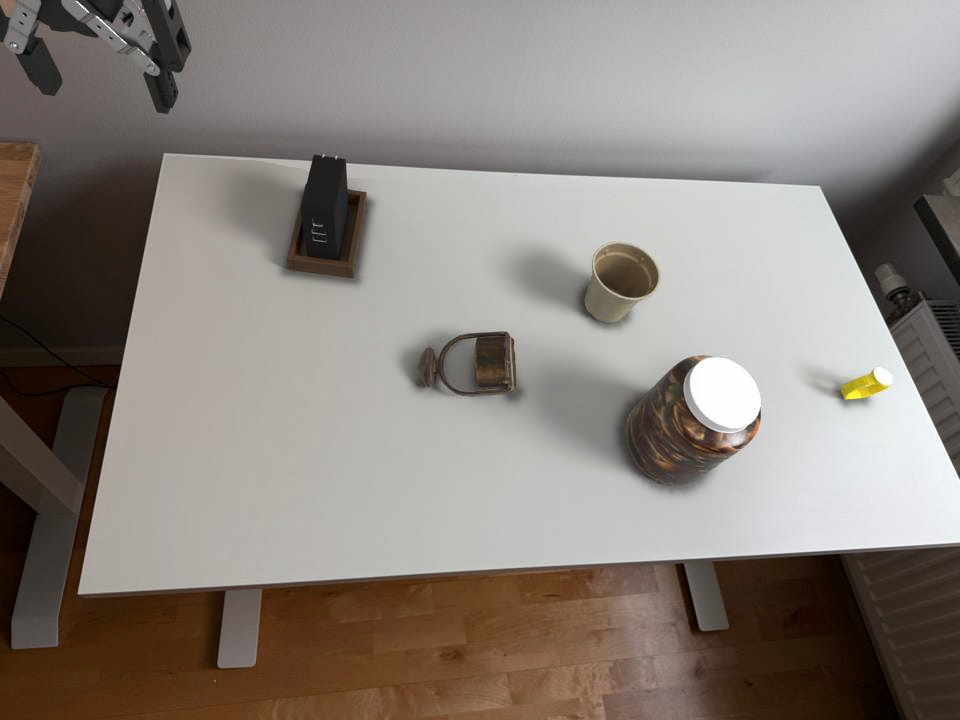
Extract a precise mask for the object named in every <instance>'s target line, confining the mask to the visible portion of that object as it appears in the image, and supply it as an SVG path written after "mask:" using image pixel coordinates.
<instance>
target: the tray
mask: <svg viewBox="0 0 960 720" xmlns="http://www.w3.org/2000/svg"><path fill="white" fill-rule="evenodd" d="M306 184H307V182H306V183H305V184H304V189H303V193H302V197H301V201H300V204H299V209H298V212H297V216H296V220H295V223H294V229H293V232H292V237H291V240H290V245H289V247H288V248H289V249H288V251H287V256H286V262H287V267H288V271H293V272H300V273H310V274H316V275H325V276H333V277H341V278H349V279H354V277H355V271H356V266H357V260H358V253H359V249H360V244H361V238H362V232H363V226H364V221H365V216H366V211H367V205H368V199H367V197H368V196H367V195H368V193H367V191H361V190H356V189H350V188H348V215H347V220H346V225H345V231H344V236H343V241H342V246H341V251H340V256H339V260H338V261H336V260H329V259H321V258H313V257H308V256H307V250H306V244H305V237H304V231H303V224H302V218H301V204H302V200H303V196H304V192H305V188H306Z"/></svg>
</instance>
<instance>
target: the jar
mask: <svg viewBox="0 0 960 720" xmlns="http://www.w3.org/2000/svg"><path fill="white" fill-rule="evenodd" d="M761 401H762V399H761V394H760V390H759V387H758V385H757V383H756V381H755V380H754V378H753V377H752V376H751V374H750V373H749V372H748V371H747V370H746V369H745V368H744V367H743V366H741V365H740V364H738V363H737V362H735V361H733V360H731V359H729V358H726V357H722V356H721V357H720V356H713V355H705V354H703V355H702V354H701V355H694V356H688V357H687V358H684V359H682V360H680V361H679V362H677V363H676V364H675V365H674V366H673V367H672V368H670V369H669V370H668V371H667V372H666V373H665V374H664V375H663V376H662V377H661V378H660V379H659V380H658V381H657V382H656V383H655V384H654V385H653V386H652V388H651V389H650V390H649V391H647V393H646V394H645V395H644V396H643V397H642V398H641V399H640V400H639V401H638V402H637V404H636V405H635V406H634V407H633V408H632V409H631V411H630V412H629V414H628V416H627V417H626V421H625V425H624V432H623V435H624V436H623V437H624V442H625V443H624V444H625V447H626V450H627V452H628V454H629V457H630V458H631V460H632V462H633V463H634V464H635V466H636V467H637V468H638V470H639V471H641V473H643V474H644V475H645V476H646V477H648V478H649V479H651V480H652V481H654V482H656V483H659V484H662V485H666V486H672V487H673V486H675V487H677V486H678V487H679V486H684V485H688V484H690V483H692V482H694V481H696V480H698V479H699V478H701V477H702V476H704V475H705V474H707V473H709V472H710V471H712V470H714V469H715V468H716V467H718V466H720V465H721V464H722V463H724V462H726V461H727V460H729V459H730V458H732V457H733V456H734V455H736V454H737V453H739V452H740V451H741V450H743V449H744V448H745V447H747V446H748V445H749V444H750V442H751V441H753V439H754V438H755V437H756V435H757V433H758V431H759V428H760V425H761V419H762V408H761V405H762V402H761Z"/></svg>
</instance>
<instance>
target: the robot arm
mask: <svg viewBox="0 0 960 720" xmlns="http://www.w3.org/2000/svg"><path fill="white" fill-rule="evenodd" d="M15 2H16V3H15V5H14V8H13V11H12V13H11V16H10V17H9V16H7V15H6V13H5V12H4V8H3V7H2V5H1V4H0V43H2V44H4V47H6V49H7V50H9V51H10V52H11V53H14V55H15V57H16V58H17V60H18V62H19V64H20V66H21V67H22V69H23V71H24V73H25V74H26V77H27V78H28V81H30V82H31V83H32V84H33V86H35V87H36V88H38V89H39V91H40V93H41V94H42V95H44V96H50V97H55V96H56V95H57V94H58V91H59V90H60V88H61V86H62V85H63V77H62V75H61V74H62V73H61V72H60V71H59V68H58V66H57V64H56V62H55V60H54V59H53V56H52V55H51V53H50V50H49V48H48V46H47V44H46V42H45V40H44V38H43V37H39V36H36V34H37V31H38V30H39V27H40V24H44V25H45V26H48V27H49V29H50V31H53V32H59V33H70V32H72V33H73V32H74V33H76V34H80V35H81V36H85V37H90V38H95V39H98V38H100V39H102V40H103V41H104V42H105V43H106V44H107V45H109V46H110V47H111V48H112V49H113V50H114V51H115V52H116V53H118V54H120V55H126V56H127V57H128V58H130V59H131V60H132V61H133V62H134V63H135V64H137V66H139V67H140V68H141V69H142V70H143V71H144V72H143V74H142V76H143V79H144V81H145V84H146V86H147V90H148V92H149V95H150V99H151V101H152V104H153V106H154V109H155V111H156V113H157V114H165V115H168V114H169V113H170V111H171V109H173V108H174V106H175V103H176V101H177V99H178V97H179V88H178V86H177V83H176V80H175V76H174V73H176V74H179V73H182V72H183V70H184V69H185V65H186V62H187V60H188V57H189V56H190V55H191V52H192V49H193V48H192V44H191V41H190V38H189V34H188V32H187V29H186V27H185V22H184V20H183V17H182V15H181V12H180V9H179V6H178V3H177V0H132V2H134V4H135V5H136V7H137V8H138V10H137V9H136V8H135V7H134V6H133V5H132V4H131V3H130V2H129V1H128V0H15ZM117 17H118V18H119V19H120V20H121V22H122V24H123V27H122V28H121V31H120V30H119V29H118V28H117V27H116V26H115V25H114V22H115V20H116V18H117ZM145 18H147V20H148V23H149V26H150V27H151V29H150V28H149V27H148V26H147V25H148V24H147V21H146V19H145Z"/></svg>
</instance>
